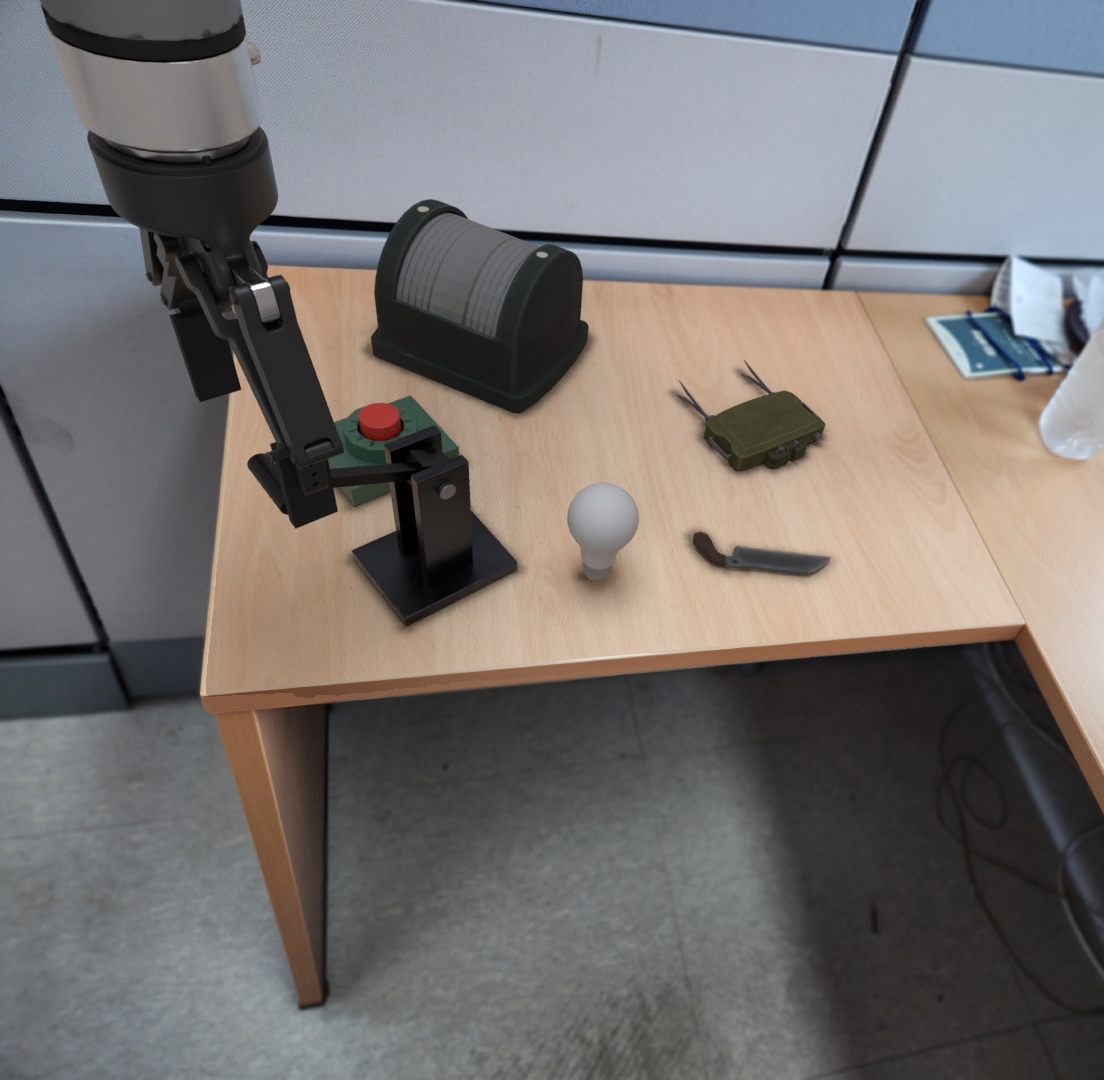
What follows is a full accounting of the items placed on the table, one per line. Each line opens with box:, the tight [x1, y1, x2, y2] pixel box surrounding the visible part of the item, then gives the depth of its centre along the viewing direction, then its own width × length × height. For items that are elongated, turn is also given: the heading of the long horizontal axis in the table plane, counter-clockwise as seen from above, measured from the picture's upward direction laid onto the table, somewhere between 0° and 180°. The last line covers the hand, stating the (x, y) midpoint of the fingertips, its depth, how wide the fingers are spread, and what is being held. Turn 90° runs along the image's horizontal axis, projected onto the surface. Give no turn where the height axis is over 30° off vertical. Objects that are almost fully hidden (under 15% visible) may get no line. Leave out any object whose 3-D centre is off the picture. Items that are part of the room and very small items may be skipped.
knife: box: [692, 531, 832, 576], centre depth 84 cm, size 14×4×1 cm, turn 90°
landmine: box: [677, 359, 826, 472], centre depth 96 cm, size 14×3×15 cm
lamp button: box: [359, 402, 401, 441], centre depth 80 cm, size 4×4×2 cm
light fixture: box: [370, 198, 590, 414], centre depth 92 cm, size 17×14×20 cm
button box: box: [328, 395, 460, 507], centre depth 82 cm, size 11×9×4 cm
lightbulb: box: [566, 482, 640, 582], centre depth 75 cm, size 6×6×11 cm
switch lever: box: [246, 448, 450, 516], centre depth 63 cm, size 14×5×2 cm, turn 133°
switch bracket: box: [351, 425, 518, 627], centre depth 71 cm, size 11×9×14 cm
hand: (264, 452), depth 56 cm, fingers open, 13 cm apart
